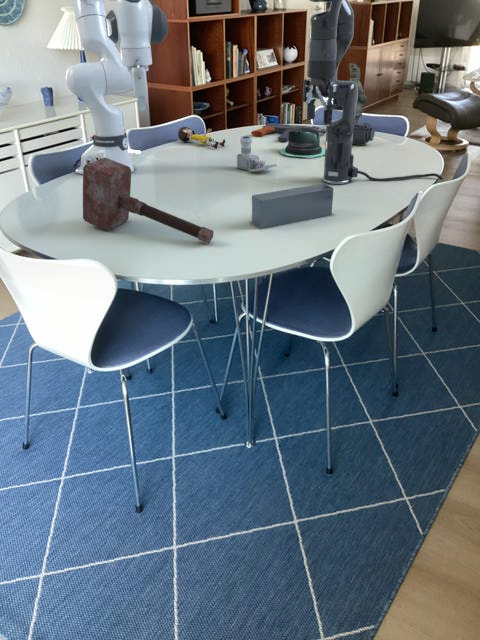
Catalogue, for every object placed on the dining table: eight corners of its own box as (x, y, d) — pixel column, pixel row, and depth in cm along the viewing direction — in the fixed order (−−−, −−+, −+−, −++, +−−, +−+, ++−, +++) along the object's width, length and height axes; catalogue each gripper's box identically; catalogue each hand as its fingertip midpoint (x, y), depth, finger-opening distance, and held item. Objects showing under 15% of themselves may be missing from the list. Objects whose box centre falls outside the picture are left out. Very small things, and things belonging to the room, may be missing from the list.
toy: (345, 120, 249) (377, 123, 242) (343, 139, 253) (375, 143, 246) (337, 123, 243) (369, 127, 236) (336, 143, 247) (367, 147, 240)
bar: (260, 228, 160) (260, 200, 156) (252, 222, 164) (251, 195, 160) (331, 214, 169) (333, 188, 165) (321, 209, 173) (323, 183, 169)
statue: (367, 132, 266) (374, 63, 251) (349, 133, 264) (355, 64, 249) (357, 127, 275) (362, 61, 260) (339, 129, 273) (344, 62, 258)
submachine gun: (244, 132, 259) (268, 122, 277) (244, 138, 260) (268, 128, 279) (307, 138, 245) (328, 127, 264) (307, 145, 246) (328, 133, 265)
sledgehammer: (223, 202, 148) (103, 155, 160) (205, 213, 141) (81, 164, 152) (214, 257, 158) (102, 210, 170) (196, 271, 151) (81, 220, 163)
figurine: (211, 139, 238) (170, 125, 250) (210, 157, 242) (170, 142, 255) (230, 134, 247) (190, 120, 259) (229, 150, 251) (189, 136, 263)
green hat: (332, 145, 241) (326, 158, 224) (294, 164, 249) (286, 177, 233) (317, 113, 235) (310, 124, 219) (279, 133, 244) (269, 145, 228)
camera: (247, 133, 214) (277, 139, 205) (247, 164, 220) (276, 171, 211) (231, 137, 209) (262, 144, 200) (232, 169, 215) (261, 176, 206)
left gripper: (149, 61, 155) (154, 113, 162) (146, 55, 172) (150, 102, 179) (126, 62, 154) (132, 114, 161) (125, 55, 171) (130, 103, 178)
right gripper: (349, 59, 143) (344, 124, 151) (319, 55, 154) (316, 116, 162) (324, 61, 140) (321, 127, 149) (296, 56, 152) (294, 118, 160)
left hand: (141, 108), depth 170 cm, fingers open, 8 cm apart
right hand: (318, 121), depth 156 cm, fingers open, 8 cm apart
